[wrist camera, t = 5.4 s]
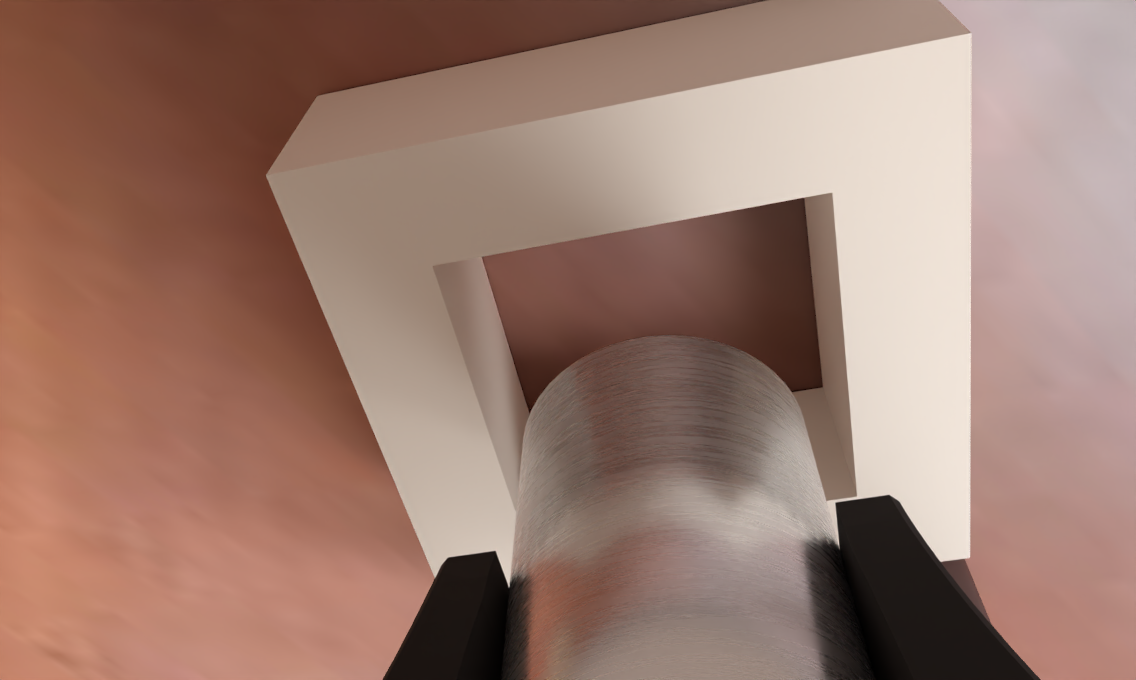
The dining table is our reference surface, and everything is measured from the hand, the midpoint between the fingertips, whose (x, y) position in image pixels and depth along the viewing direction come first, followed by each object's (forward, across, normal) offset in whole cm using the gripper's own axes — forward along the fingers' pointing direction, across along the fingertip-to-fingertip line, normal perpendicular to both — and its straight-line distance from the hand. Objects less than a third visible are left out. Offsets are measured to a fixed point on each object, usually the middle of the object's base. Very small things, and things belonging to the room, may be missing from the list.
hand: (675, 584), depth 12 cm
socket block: (+7, 0, 0) cm, 7 cm away
